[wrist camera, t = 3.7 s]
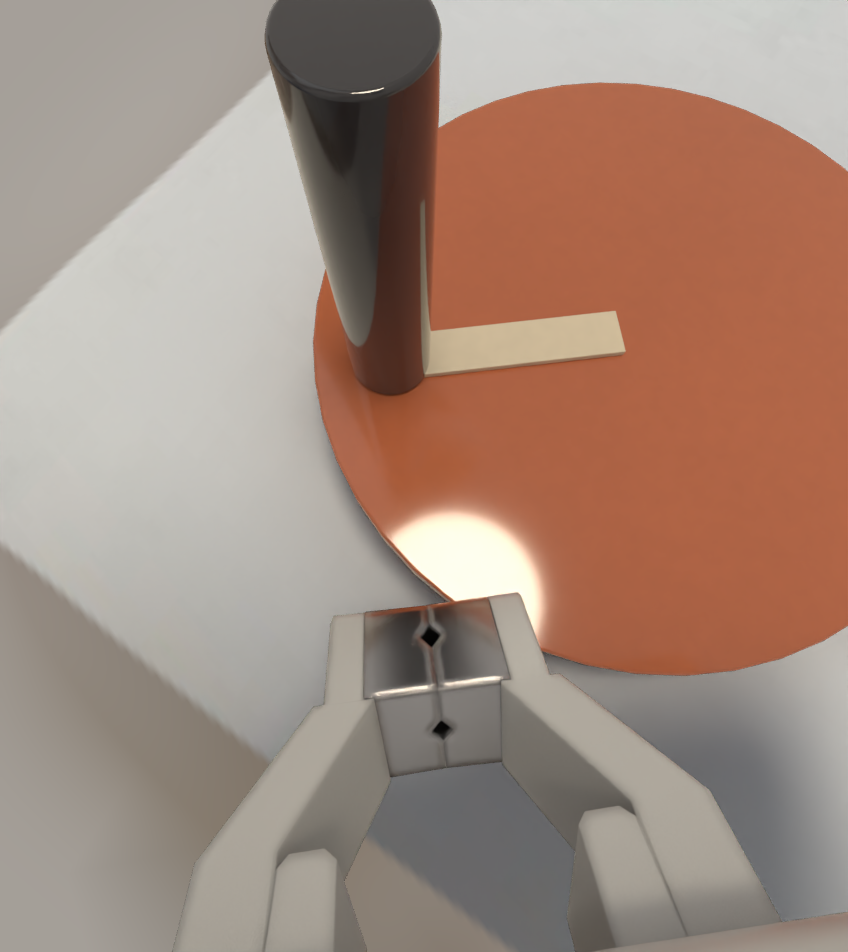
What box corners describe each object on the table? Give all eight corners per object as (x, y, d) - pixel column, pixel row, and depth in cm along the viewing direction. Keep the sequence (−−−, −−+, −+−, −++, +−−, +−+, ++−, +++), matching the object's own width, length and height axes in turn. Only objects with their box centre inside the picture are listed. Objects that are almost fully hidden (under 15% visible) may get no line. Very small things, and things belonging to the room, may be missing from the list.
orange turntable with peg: (617, 832, 12) (1183, 1459, 3) (203, 315, 15) (-100, -104, 6) (1049, 394, 15) (1994, 63, 6) (622, 37, 18) (817, -523, 9)
